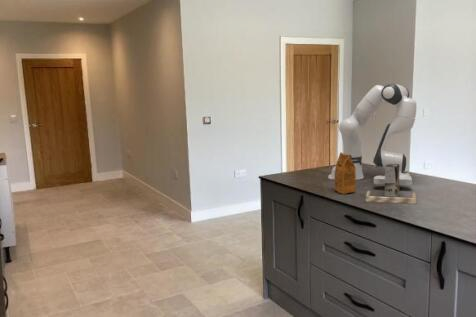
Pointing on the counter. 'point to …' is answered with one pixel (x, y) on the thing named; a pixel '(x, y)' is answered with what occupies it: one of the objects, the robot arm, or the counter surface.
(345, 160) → the coffee package
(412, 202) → the birch bay
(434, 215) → the counter surface
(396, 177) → the coffee box
